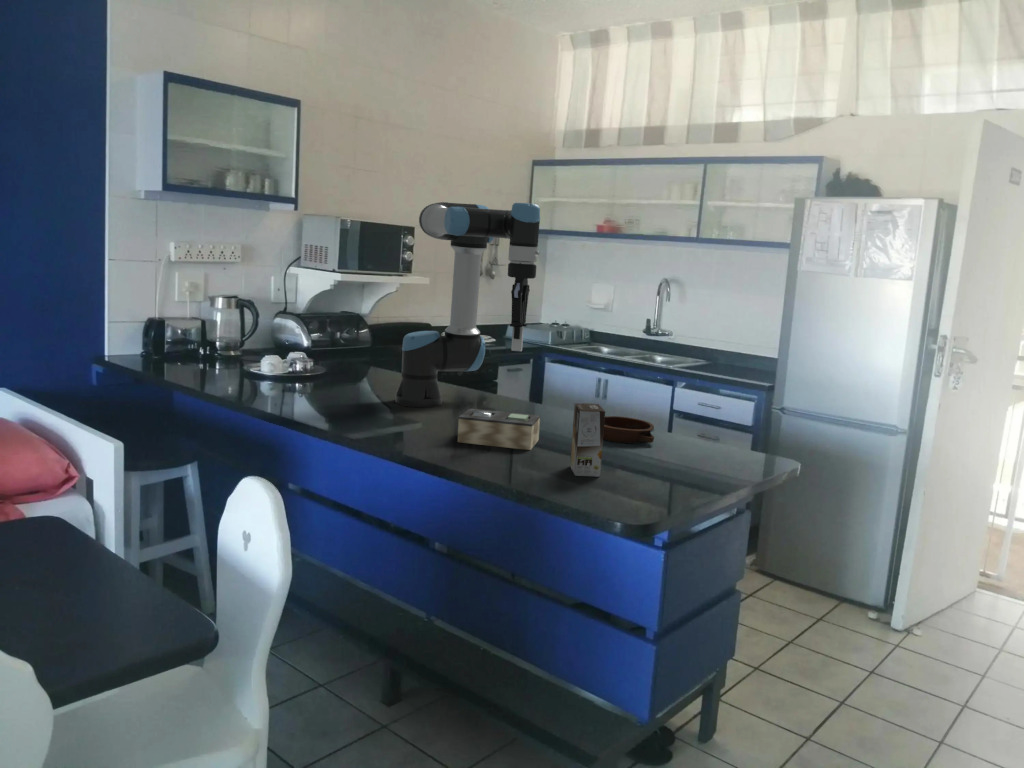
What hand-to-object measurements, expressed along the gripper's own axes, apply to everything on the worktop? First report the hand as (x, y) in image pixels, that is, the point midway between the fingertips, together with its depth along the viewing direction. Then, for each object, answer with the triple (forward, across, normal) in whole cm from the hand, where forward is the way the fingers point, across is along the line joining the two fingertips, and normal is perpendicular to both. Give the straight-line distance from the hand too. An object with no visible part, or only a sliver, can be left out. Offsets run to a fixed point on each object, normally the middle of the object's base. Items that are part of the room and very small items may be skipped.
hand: (516, 350), depth 224 cm
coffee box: (+25, -23, -23) cm, 41 cm away
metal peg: (+25, -3, +8) cm, 26 cm away
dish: (+25, +16, -29) cm, 42 cm away
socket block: (+25, -3, +3) cm, 25 cm away
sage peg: (+25, -3, -2) cm, 25 cm away
